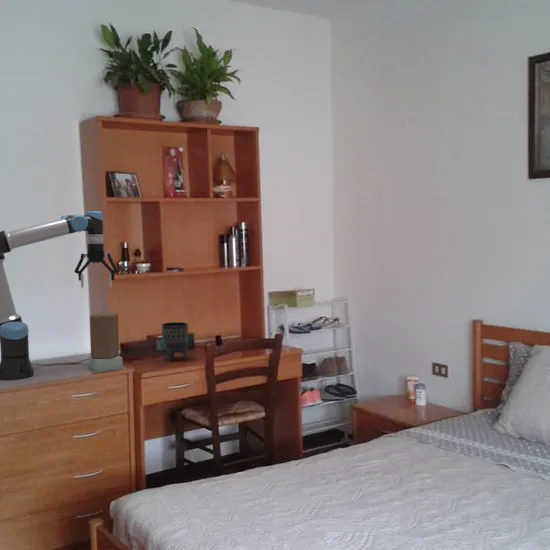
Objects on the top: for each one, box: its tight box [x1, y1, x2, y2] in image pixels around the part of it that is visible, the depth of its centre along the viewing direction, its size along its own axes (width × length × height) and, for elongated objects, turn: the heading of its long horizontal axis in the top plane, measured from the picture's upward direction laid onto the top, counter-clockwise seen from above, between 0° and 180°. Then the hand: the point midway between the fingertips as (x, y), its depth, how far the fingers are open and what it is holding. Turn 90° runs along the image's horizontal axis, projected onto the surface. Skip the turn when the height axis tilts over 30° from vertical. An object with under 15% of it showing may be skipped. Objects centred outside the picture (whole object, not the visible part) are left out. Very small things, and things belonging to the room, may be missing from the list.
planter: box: [161, 321, 189, 363], centre depth 333 cm, size 13×13×18 cm
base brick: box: [88, 355, 124, 372], centre depth 310 cm, size 12×12×5 cm
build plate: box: [83, 365, 129, 374], centre depth 311 cm, size 16×16×1 cm
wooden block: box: [89, 312, 120, 359], centre depth 309 cm, size 10×10×20 cm
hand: (96, 287), depth 325 cm, fingers open, 13 cm apart
